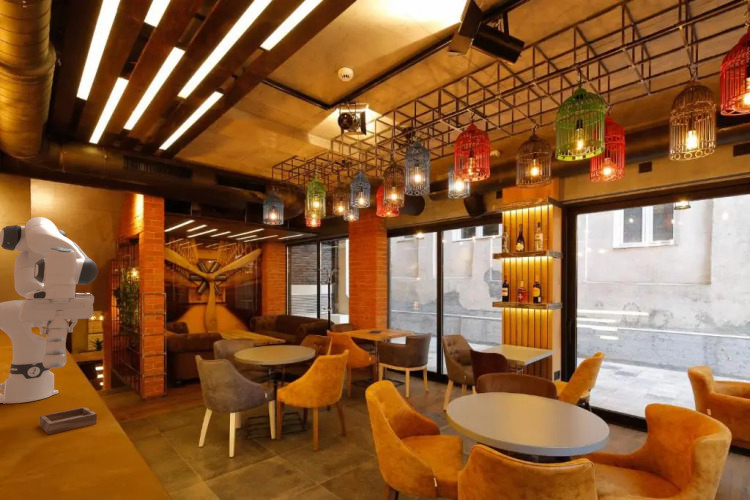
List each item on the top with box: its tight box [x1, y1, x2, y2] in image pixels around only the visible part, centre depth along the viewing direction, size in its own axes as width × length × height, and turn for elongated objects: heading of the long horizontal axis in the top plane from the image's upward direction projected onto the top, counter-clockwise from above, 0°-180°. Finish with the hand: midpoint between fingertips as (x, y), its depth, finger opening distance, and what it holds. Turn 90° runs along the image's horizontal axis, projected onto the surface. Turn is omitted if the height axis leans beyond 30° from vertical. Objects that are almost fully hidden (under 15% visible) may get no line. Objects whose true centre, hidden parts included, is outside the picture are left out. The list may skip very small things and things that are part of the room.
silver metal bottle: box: [42, 310, 70, 369], centre depth 135 cm, size 6×7×20 cm
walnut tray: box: [39, 406, 98, 435], centre depth 125 cm, size 12×12×3 cm
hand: (56, 333), depth 135 cm, fingers closed on silver metal bottle, 6 cm apart
